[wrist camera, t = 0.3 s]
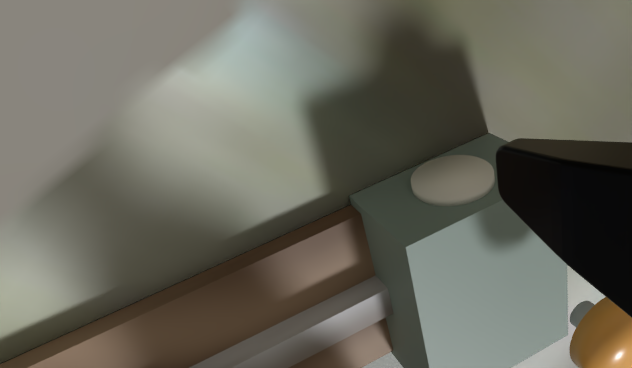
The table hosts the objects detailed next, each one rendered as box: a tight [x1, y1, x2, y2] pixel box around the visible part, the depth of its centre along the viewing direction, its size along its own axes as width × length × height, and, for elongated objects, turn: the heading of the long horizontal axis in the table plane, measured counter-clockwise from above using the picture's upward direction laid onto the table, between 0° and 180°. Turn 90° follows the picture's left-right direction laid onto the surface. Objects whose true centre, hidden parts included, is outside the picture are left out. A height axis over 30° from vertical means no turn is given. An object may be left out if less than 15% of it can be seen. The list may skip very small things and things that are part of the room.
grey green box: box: [349, 133, 568, 368], centre depth 27 cm, size 10×8×5 cm
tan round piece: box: [570, 297, 632, 368], centre depth 22 cm, size 4×4×2 cm
